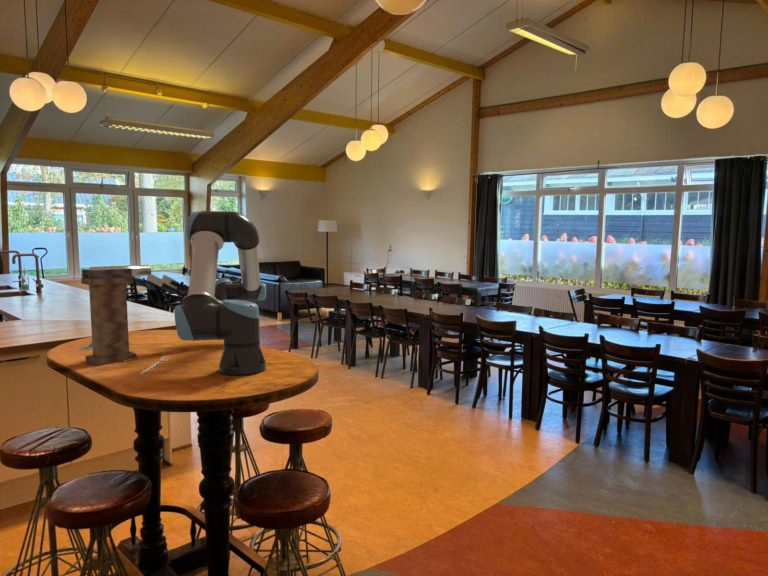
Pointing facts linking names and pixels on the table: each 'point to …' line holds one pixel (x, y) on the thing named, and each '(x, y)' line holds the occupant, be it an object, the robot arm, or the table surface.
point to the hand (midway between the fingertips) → (155, 277)
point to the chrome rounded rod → (136, 269)
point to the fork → (155, 364)
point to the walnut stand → (108, 315)
